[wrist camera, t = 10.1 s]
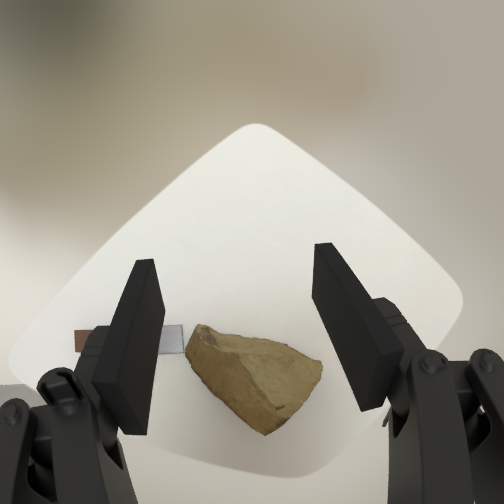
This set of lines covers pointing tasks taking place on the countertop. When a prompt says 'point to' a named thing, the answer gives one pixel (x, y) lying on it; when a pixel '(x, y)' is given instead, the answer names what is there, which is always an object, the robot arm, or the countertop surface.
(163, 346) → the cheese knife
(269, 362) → the rock
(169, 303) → the countertop surface
